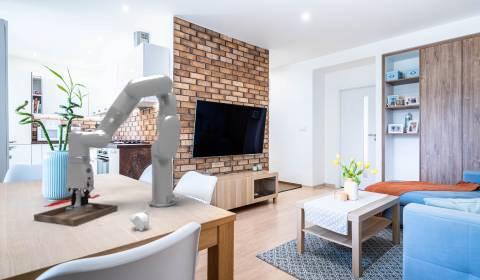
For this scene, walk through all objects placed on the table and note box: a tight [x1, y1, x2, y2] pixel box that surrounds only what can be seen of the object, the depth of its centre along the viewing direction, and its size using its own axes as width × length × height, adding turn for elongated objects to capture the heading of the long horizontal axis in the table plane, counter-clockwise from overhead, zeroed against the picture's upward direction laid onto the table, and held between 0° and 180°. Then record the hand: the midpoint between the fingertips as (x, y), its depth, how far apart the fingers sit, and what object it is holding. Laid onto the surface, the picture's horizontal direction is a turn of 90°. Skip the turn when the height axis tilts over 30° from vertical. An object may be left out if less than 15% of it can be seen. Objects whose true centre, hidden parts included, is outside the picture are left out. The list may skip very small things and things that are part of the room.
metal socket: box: [65, 205, 93, 216], centre depth 107 cm, size 7×7×2 cm
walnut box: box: [33, 201, 119, 227], centre depth 103 cm, size 20×20×3 cm
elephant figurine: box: [130, 210, 150, 232], centre depth 91 cm, size 7×8×6 cm
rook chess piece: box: [74, 189, 86, 209], centre depth 107 cm, size 4×4×8 cm
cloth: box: [43, 194, 101, 208], centre depth 128 cm, size 26×14×2 cm, turn 135°
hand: (79, 204), depth 107 cm, fingers closed on rook chess piece, 4 cm apart
